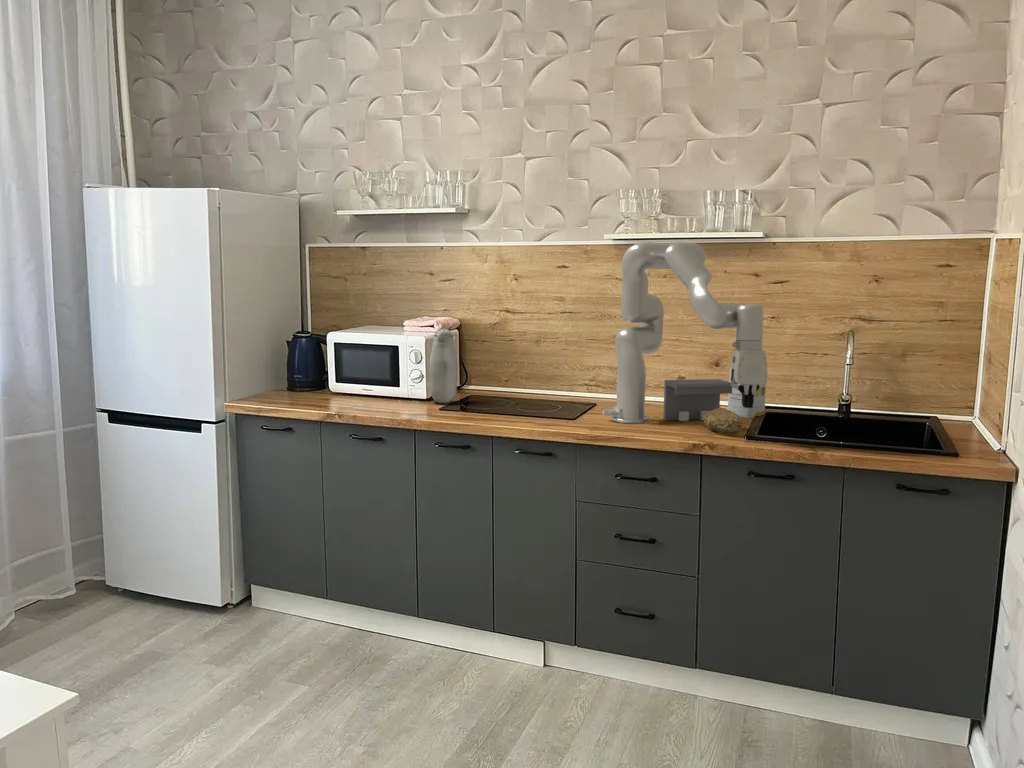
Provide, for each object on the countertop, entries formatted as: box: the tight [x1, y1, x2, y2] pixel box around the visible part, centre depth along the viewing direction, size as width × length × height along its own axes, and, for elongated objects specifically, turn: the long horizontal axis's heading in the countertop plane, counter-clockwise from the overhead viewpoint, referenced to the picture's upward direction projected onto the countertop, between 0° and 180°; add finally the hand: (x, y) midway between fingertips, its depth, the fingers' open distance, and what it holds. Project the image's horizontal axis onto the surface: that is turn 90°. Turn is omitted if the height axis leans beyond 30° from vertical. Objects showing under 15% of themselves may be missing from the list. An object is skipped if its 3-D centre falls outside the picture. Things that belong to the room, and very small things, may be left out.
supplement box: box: [727, 367, 767, 419], centre depth 294 cm, size 10×9×17 cm
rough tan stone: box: [703, 407, 744, 435], centre depth 267 cm, size 13×8×20 cm
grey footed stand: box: [662, 378, 732, 422], centre depth 283 cm, size 20×10×14 cm, turn 103°
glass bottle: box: [429, 328, 458, 404], centre depth 315 cm, size 10×10×28 cm
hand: (747, 407), depth 250 cm, fingers closed
